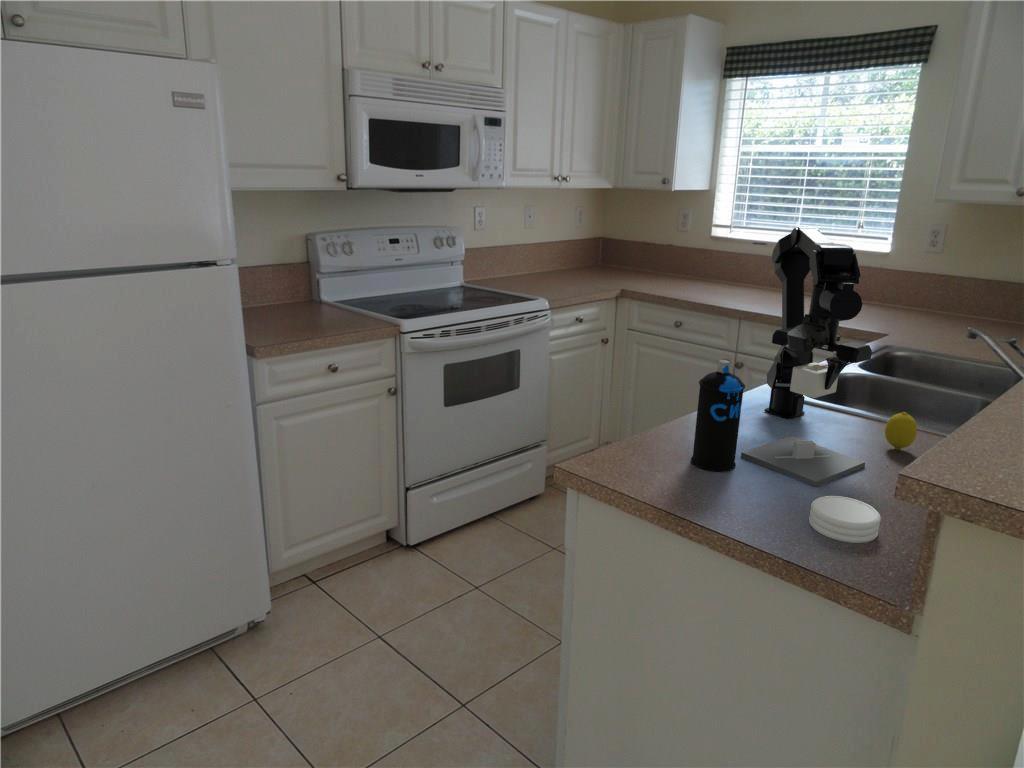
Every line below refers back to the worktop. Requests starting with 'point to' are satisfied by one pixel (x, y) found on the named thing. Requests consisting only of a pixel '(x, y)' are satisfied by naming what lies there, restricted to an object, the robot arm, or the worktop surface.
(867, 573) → the worktop surface
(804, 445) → the grey peg base plate
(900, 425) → the lemon
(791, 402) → the robot arm
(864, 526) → the white round flat disc
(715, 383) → the aerosol can
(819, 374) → the square tube sleeve
